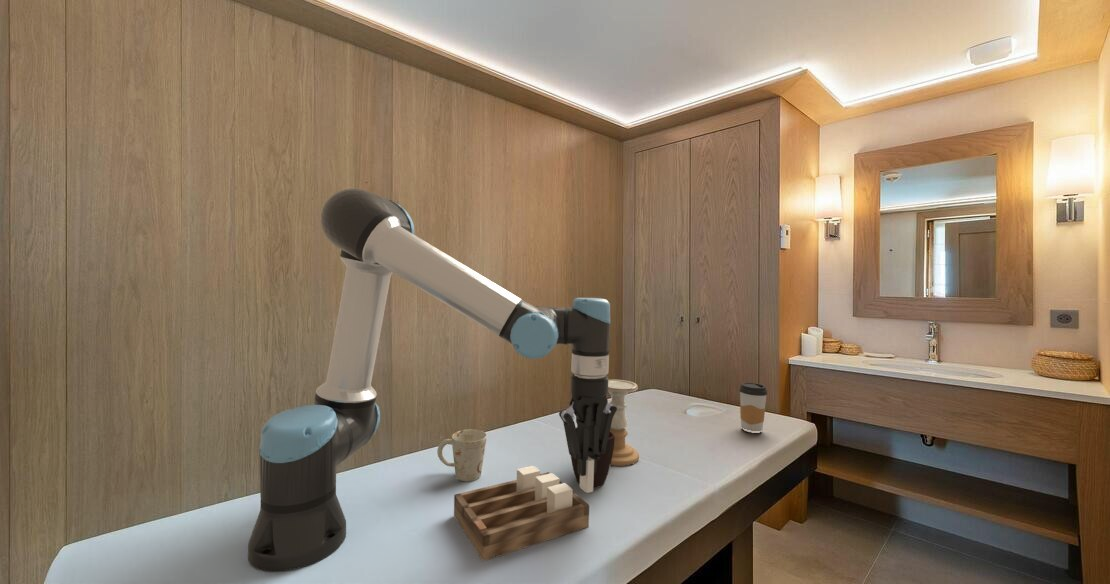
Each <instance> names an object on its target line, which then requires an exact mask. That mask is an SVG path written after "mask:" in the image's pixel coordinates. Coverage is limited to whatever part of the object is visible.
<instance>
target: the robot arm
mask: <svg viewBox="0 0 1110 584" xmlns="http://www.w3.org/2000/svg"><path fill="white" fill-rule="evenodd" d="M320 224H321V228H322V231H323V233H324V235H325V237H326V238H327V240H329V242H330V243H331V244H332V245H334V246H335V247H337V249H339V250H340V255H339V258H340V260H341V261H342V263H343V264H344V265H345V274H344V279H343V286H342V290H341V297H340V303H339V307H338V313H337V314H338V315H337V319H336V323H335V329H334V336H333V341H332V345H331V346H332V348H331V352H330V357H329V358H330V359H329V363H328V370H327V373H326V374H327V375H326V379H325V382H323V383H322V384H321V385H319V386H318V387H317V388H316V390H315V394H314V400H313V404H306V405H301V406H300V405H299V406H296V407H295V408H287V409H286V410H283V411H280V412H278V413H277V414H275V415H273V416H271V417H270V418H269V419H268V420H267V421H266V422H264V425H263V426H262V428H261V433H260V441H259V445H258V446H259V447H258V451H259V454H260V455H259V456H260V457H259V458H260V460H259V461H260V462H259V463H260V464H259V465H260V466H259V467H260V475H259V476H260V481H259V482H260V484H259V485H260V487H259V488H260V489H259V490H260V509H259V513H258V516H257V518H256V520H255V524H254V526H253V530H252V533H251V535H250V538H249V540H248V545H247V560H248V563H249V564H250V565H251V566H252V567H253V568H255V569H256V570H257V569H258V570H261V571H265V572H284V571H285V572H286V571H291V570H296V569H299V568H303V567H306V566H308V565H312V564H315V563H316V562H318V561H319V562H320V561H321V560H323V559H325V558H327V557H328V556H329V555H331V554H332V553H334V552H335V551H336V550H337V549H338V548H340V547H341V545H342V544H343V543H344V542H345V539H346V538H347V537H346V536H347V520H346V517H345V514H344V511H343V508H342V507H341V503H340V500H339V498H338V496H337V467H338V466H339V465H340V464H341V463H343V462H344V461H345V460H347V458H349V457H350V456H352V455H353V454H354V453H355V452H357V451H358V450H359V449H361V448H362V447H364V446H365V445H366V444H367V443H368V442H369V441H370V440H371V439H372V437H374V435H375V433H376V432H377V430H378V428H379V425H380V421H381V411H380V410H381V409H380V407H379V405H377V401H376V400H377V391H376V390H375V388H374V387H373V386H372V382H373V376H374V370H375V365H376V359H377V355H378V354H377V353H378V348H379V344H380V337H381V332H382V327H383V321H384V315H385V312H386V311H385V309H386V304H387V299H388V293H389V288H390V282H391V277H392V275H393V274H394V275H397V276H398V277H400V278H401V279H403V280H404V281H407V282H408V283H410V284H412V285H413V286H414V287H416V288H418V289H419V290H422V291H423V292H425V293H427V294H428V295H429V296H431V297H433V298H434V299H436V300H438V301H440V302H441V303H443V304H445V305H446V306H448V307H450V308H451V309H453V310H455V311H456V312H458V313H459V314H461V315H462V316H465V317H467V318H468V319H470V320H472V321H473V322H475V323H476V324H479V325H480V326H482V327H483V328H485V329H487V330H488V331H490V332H491V333H493V334H495V335H497V336H498V337H499V338H501V339H503V340H504V341H506V342H507V343H510V344H511V345H512V347H513V348H514V350H515V351H516V352H517V354H519V356H521V357H523V358H526V359H529V360H537V359H541V358H544V357H546V356H547V355H548V354H549V353H551V351H552V350H554V349H555V347H556V346H557V345H565V346H567V345H571V347H572V348H571V364H570V365H571V367H570V372H571V373H572V375H571V376H570V392H571V393H570V394H571V398H570V402H569V407H568V408H566V410H560V411H559V413H558V415H559V418H560V419H561V420H562V422H563V428H564V432H565V433H564V434H565V438H566V444H567V449H568V454H569V456H570V457H571V456H572V457H574V458H575V459H577V460H578V464H577V466H578V467H577V472H578V474H579V475H580V485H579V489H581V490H583V491H584V492H585V493H587V494H589V493H593V492H594V488H593V481H594V473H596V469H597V460H599V459H600V457H601V456H599V454H601V453H602V454H604V453H605V451H606V446H607V442H608V437H609V433H610V428H611V423H612V419H613V416H614V414H615V412H616V411H617V407H616V406H613V405H611V404H609V403H610V402H608V401H609V400H608V398H607V395H608V393H609V391H608V380H609V377H608V374H609V371H610V370H609V369H610V366H609V365H610V345H611V343H610V340H611V339H610V337H611V323H612V322H611V303H610V302H609V301H608V300H607V299H606V298H601V297H576V298H574V299H573V302H572V306H567V307H560V306H559V307H558V306H537V305H536V306H534V305H532V304H531V303H528V302H527V301H525V300H523V299H522V298H521V297H518V296H517V295H515V294H514V293H512V292H511V291H508V290H507V289H505V288H503V287H502V286H500V285H498V284H497V283H495V282H493V281H491V280H490V279H488V278H487V277H485V276H483V275H482V274H480V273H478V272H477V271H475V270H474V269H472V268H470V267H469V266H467V265H465V264H464V263H462V262H461V261H459V260H456V258H454V257H452V256H451V255H449V254H447V253H446V252H444V251H442V250H440V249H438V248H437V247H435V246H434V245H432V244H430V243H428V241H425V240H424V239H422V238H420V237H419V236H418V235H416V234H415V225H414V221H413V219H412V217H411V216H410V214H409V212H407V211H406V209H405V208H404V207H402V206H401V205H399V204H398V203H397V202H395V201H393V200H390V199H387V198H385V197H382V196H379V195H377V194H374V193H372V192H370V191H368V190H364V189H359V188H347V189H343V190H339V191H338V192H336V193H334V194H332V195H330V197H329V198H328V199H327V200H326V201H325V203H324V204H323V207H322V209H321V213H320ZM574 420H575V421H574ZM575 422H576V423H575ZM576 427H577V433H576ZM600 445H601V446H600Z"/></svg>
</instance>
